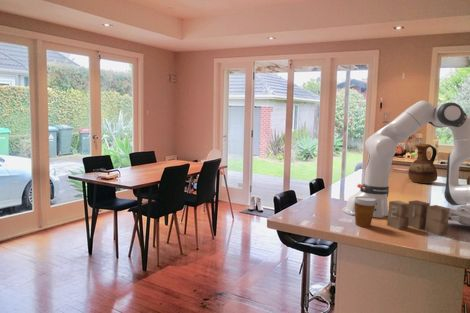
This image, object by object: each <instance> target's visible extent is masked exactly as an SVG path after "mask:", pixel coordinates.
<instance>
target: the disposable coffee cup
mask: <svg viewBox="0 0 470 313" xmlns="http://www.w3.org/2000/svg"><path fill="white" fill-rule="evenodd" d="M354 203H355V215H354V218H355V219H354V220H355V225H356V226H357V227H361V228H370V227H371V225H372V221H373V218H374V217H373V212H374V208H375V205H376V199H374V198H371V197H364V196H357V197H355V199H354Z"/></svg>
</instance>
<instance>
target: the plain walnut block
mask: <svg viewBox="0 0 470 313" xmlns="http://www.w3.org/2000/svg"><path fill="white" fill-rule="evenodd" d="M450 208H451V207H445V206H442V205H438V204H435V205H434V204H433V205H429V206H428V208H427V217H426V226H425V228H424V232H426V233H429V234H432V235H436V236H444V235H446V234H448V225H449V220H448V219H449V211H450Z"/></svg>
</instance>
